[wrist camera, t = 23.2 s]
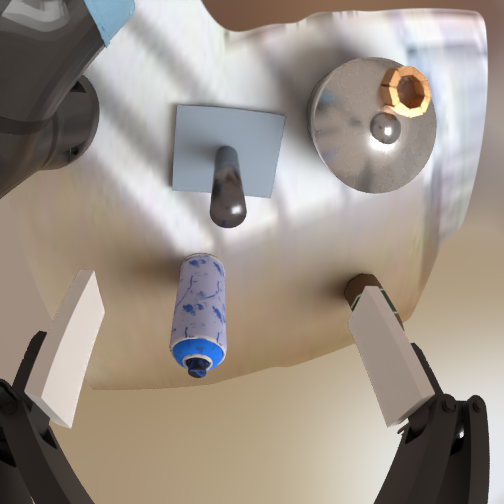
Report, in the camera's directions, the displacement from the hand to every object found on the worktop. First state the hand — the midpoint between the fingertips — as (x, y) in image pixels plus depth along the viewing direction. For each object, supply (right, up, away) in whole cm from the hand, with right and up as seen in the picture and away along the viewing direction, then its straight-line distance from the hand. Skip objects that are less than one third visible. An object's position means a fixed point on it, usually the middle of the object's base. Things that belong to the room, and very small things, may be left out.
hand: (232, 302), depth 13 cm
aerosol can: (-8, -1, +35) cm, 36 cm away
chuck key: (-2, +15, +23) cm, 28 cm away
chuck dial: (+17, +19, +18) cm, 31 cm away
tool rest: (-3, +16, +24) cm, 29 cm away
